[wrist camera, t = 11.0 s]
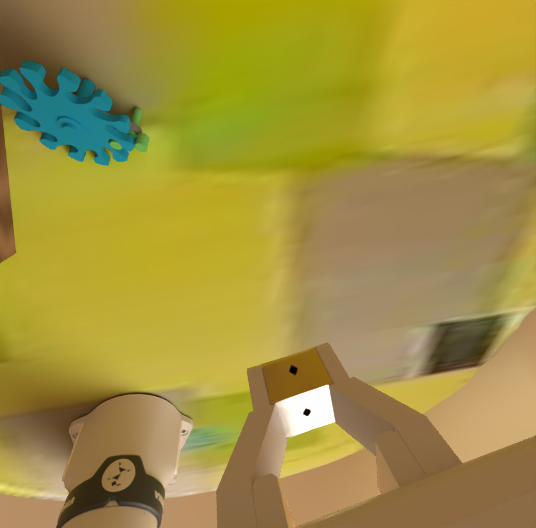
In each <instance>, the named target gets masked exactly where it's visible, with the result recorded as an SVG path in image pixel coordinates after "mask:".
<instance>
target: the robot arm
mask: <svg viewBox="0 0 536 528" xmlns="http://www.w3.org/2000/svg"><path fill="white" fill-rule="evenodd" d="M247 375H248V381H249V387H250V393H251V398H252V404H253V410H254V411H252V412H249V415H248V417H247V419H246V422H245V424H244V426H243V429H242V431H241V434H240V436H239V438H238V441H237V443H236V446H235V448H234V450H233V453H232V455H231V457H230V460H229V462H228V465H227V467H226V469H225V472H224V474H223V477H222V479H221V481H220V484H219V486H218V488H217V491H216V492H217V493H216V494H217V528H536V436H534V437H531V438H528V439H526V440H523V441H520V442H518V443H515V444H512V445H510V446H507V447H505V448H502V449H499V450H497V451H494V452H491V453H489V454H486V455H484V456H481V457H478V458H476V459H473V460H470V461H468V462H465V463H462V462H461V461H460V460H459V458H458V457H457V456H456V454H455V453H454V452H453V450H452V449H451V448H450V446H449V445H448V444H447V443H446V441H445V440H444V439H443V438H442V436H441V435H440V434H439V432H438V431H437V430H436V428H435V427H434V426H433V425H432V423H431V422H430V421H429V420H428V418H427V417H426V416H425V415H423V414H421V413H419V412H417V411H416V410H414V409H412V408H410V407H408V406H406V405H405V404H403V403H401V402H399V401H397V400H395V399H394V398H392V397H390V396H388V395H386V394H384V393H382V392H381V391H379V390H377V389H375V388H373V387H371V386H370V385H368V384H366V383H364V382H362V381H360V380H359V379H357V378H355V377H352V378H349V376H348V374H347V373H346V371H345V369H344V368H343V366H342V364H341V363H340V361H339V359H338V357H337V356H336V354H335V352H334V351H333V349H332V347H331V346H330V344H329V343H325V344H322V345H319V346H316V347H313V348H310V349H307V350H304V351H301V352H298V353H295V354H292V355H289V356H287V357H284V358H280V359H277V360H274V361H270V362H267V363H264V364H261V365H258V366H254V367H251V368H248V369H247ZM333 422H336V424H338V425H339V426H340V427H341V428H342V429H344V430H345V431H346V432H347V433H348V434H350V435H351V436H352V437H353V438H355V439H356V440H357V441H358V442H359V443H361V444H362V445H363V446H364V447H365V448H367V449H368V450H369V451H370V452H372V453H373V454H374V455H375V456H376V464H377V479H378V480H377V481H378V488H379V489H380V492H381V495H378V496H376V497H373V498H370V499H368V500H365V501H363V502H360V503H357V504H355V505H352V506H349V507H347V508H344V509H341V510H339V511H336V512H333V513H331V514H328V515H326V516H323V517H321V518H318V519H315V520H312V521H310V522H307V523H305V524H302V525H300V526H297V527H295V523H294V518H293V516H292V513H291V511H290V508H289V506H288V503H287V501H286V498H285V496H284V493H283V490H282V488H281V485H280V483H279V476H280V472H281V467H282V463H283V458H284V454H285V449H286V444H287V438H290V437H292V436H295V435H298V434H300V433H303V432H305V431H308V430H311V429H314V428H317V427H320V426H323V425H326V424H329V423H333ZM192 427H193V420H192V419H190V418H188V417H186V416H184V415H182V414H181V413H179V411H178V410H177V409H176V408H175V407H174V406H173V405H172V404H171V403H169V402H168V401H166V400H164V399H162V398H159V397H156V396H151V395H145V394H131V395H123V396H119V397H115V398H112V399H110V400H107V401H105V402H104V403H102V404H100V405H99V406H97V407H96V408H95V409H94V410H93V411H92V412H91V413H89V414H88V415H86V416H84V417H81V418H79V419H77V420H75V421H73V422H72V423H71V424H70V427H69V434H70V436H71V439H72V441H73V444H74V446H73V449H72V452H71V454H70V457H69V460H68V463H67V465H66V468H65V471H64V474H63V478H62V481H63V482H64V485H65V488H66V489H67V490H68V492H69V495H68V496H67V499H66V501H65V504H64V506H63V508H62V510H61V512H60V515H59V518H58V524H57V527H56V528H159V527H160V524H161V520H162V515H163V511H164V497H165V488H166V487H167V486H168V485H173V484H174V482H175V479H176V476H177V473H178V462H179V453H180V451H181V449H182V447H183V445H184V443H185V441H186V439H187V438H188V436H189V434H190V432H191V430H192Z"/></svg>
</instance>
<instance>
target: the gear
mask: <svg viewBox="0 0 536 528" xmlns="http://www.w3.org/2000/svg"><path fill="white" fill-rule="evenodd" d="M20 72H21V73H22V75H23V76H24V77H25V78H26V79H27V80H28V81H29V82H30V83H31V84H32V86H33V87H34V89H35V91H36V92H33V91H31V90H30V89H28V88H27V87H26V86H25V84H24V80H23V78H22V76H21V75H20V74H19V73H18V72H17V71H16V70H14V69H5V70H3V71H2V72H1V74H0V83H1V84H2V85H4V86H5V88H4V89H3V91H2V92H1V94H0V103H1V104H2V105H3V106H5V107H7V108H10V109H14V110H17V111H20V112H17V114H16V116H15V118H14V120H15V122H16V124H17V125H18V126H19V127H20V128H21V129H23V130H26V131H30V130H38V131H42V132H44V133H43V134H42V136H41V138H40V140H39V141H40V142H41V143H42V144H44V145H45V146H46V147H48V148H49V149H56V147H57V146H59V145H72V147H71V148H70V151H69V154H68V155H69V156H70V157H71V158H73V159H75V160H78V161H80V162H82V161H83V160H84V157H85V155H86V152H85V151H86V150H92V151H94V152H96V155H95V158H94V161H95V162H96V163H98V164H101V165H107V166H108V164H109V161H110V156H109V155H108V154H107V153H106V152H105V150H104V148H108V149H110V150H111V151H112V152H113V158H114V159H115V160H116V161H118V162H123V161H126V160H127V158H128V155H129V153H128V152H127V151H132V150H133V148H134V146H135V148H136V149H137V150H139V151H142V152H144V151H146V150H147V146H148V142H149V137H148V136H147V135H146V134H144V133H142V130H141V128H140V127H139V123H140V119H141V115H142V111H141V110H140V109H138V108H136V109H134V112H133V116H132V119H131V122H130V119H129V117H128V116H126V115H124V114H119V115H112V114H110V113H108V112H105V111H109V110H110V109H111V106H112V103H113V101H112V100H111V98H110V97H109V96H108V95H107V94H106V93H105V92H104V91H103V90H101V89H98V90H96V91H95V93H94V94H93V91H94V88H95V85H94V83H93V82H92V81H90V80H88V79H83V80H82V83H81V85H80V82H81V80H80V78H79V77H78V76H77V75H75V74H74V73H72V72H71V71H69V70H67V69H65V68H61V70H60V72H59V74H58V76H57V81H58V84H59V88H58V89H56V90H55V89H51V88H49V87H48V86H46V85H45V83H44V82H43V79H44V77H45V75H46V70H45V69H44V67H43V66H42V65H40V64H38V63H35V62H32V61H26V60H24V61H23V63H22V65H21V67H20ZM79 85H80V88H79V90H78V87H79ZM6 87H7V88H6ZM77 90H78V93H77V95H74V94H72V93H71V92H76V91H77ZM92 94H93V95H92ZM19 96H21V97H22V98H23V99H24V100H25V101H26V102H27V103H26V102H25V101H23V100H22V99H21V98H20V97H19ZM135 142H136V143H135ZM126 150H127V151H126Z"/></svg>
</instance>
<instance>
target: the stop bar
mask: <svg viewBox="0 0 536 528" xmlns="http://www.w3.org/2000/svg"><path fill="white" fill-rule="evenodd" d="M15 253H16V250H15V240H14V230H13V220H12V210H11V200H10V190H9V180H8V170H7V160H6V150H5V140H4V130H3V120H2V110H1V103H0V263H1V262H3V261H4V260H6V259H7V258H9V257H10V256H12V255H14V254H15Z"/></svg>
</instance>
